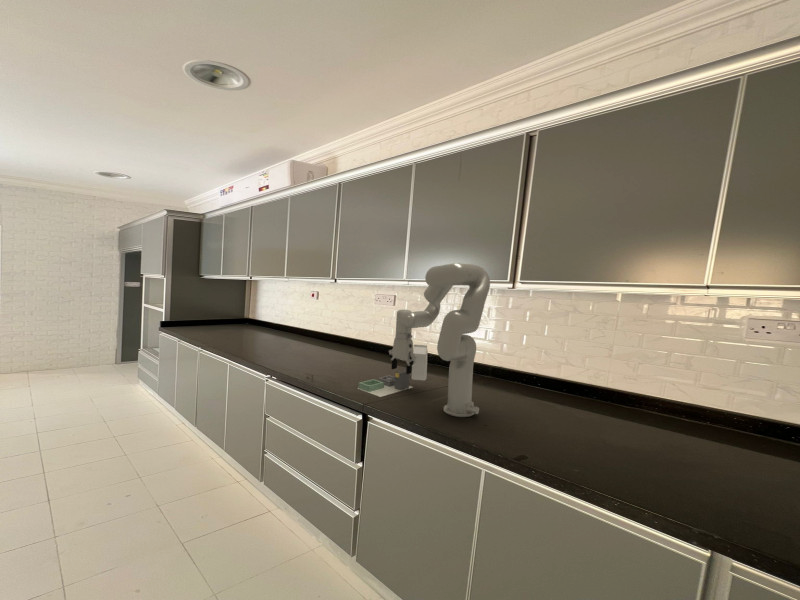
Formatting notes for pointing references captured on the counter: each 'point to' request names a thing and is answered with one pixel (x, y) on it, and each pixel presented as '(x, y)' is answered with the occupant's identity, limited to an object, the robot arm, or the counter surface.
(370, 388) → the green rectangular frame
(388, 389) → the board
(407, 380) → the plug
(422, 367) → the milk carton
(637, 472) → the counter surface
